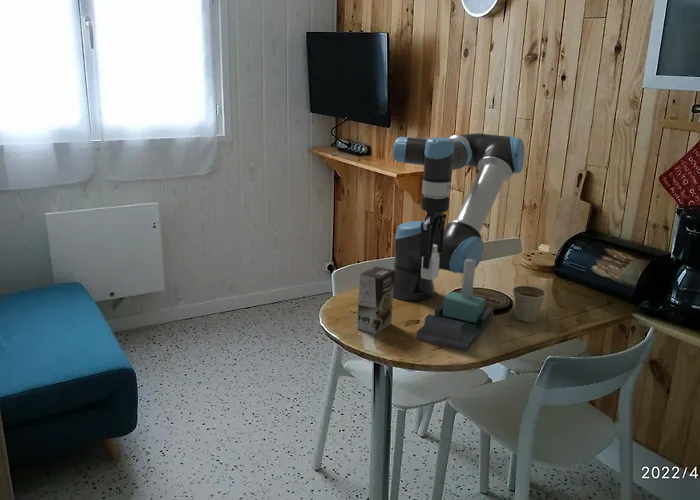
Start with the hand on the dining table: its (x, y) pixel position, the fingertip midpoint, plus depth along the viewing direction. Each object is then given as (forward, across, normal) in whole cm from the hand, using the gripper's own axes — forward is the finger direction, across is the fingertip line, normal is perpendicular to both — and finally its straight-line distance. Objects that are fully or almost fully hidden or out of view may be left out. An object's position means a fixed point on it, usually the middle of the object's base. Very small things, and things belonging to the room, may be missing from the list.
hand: (429, 275), depth 173 cm
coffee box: (+13, -14, +10) cm, 21 cm away
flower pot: (+14, +16, -25) cm, 33 cm away
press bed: (+13, -3, -10) cm, 17 cm away
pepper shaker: (+1, 0, 0) cm, 1 cm away
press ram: (+11, +3, -10) cm, 15 cm away
